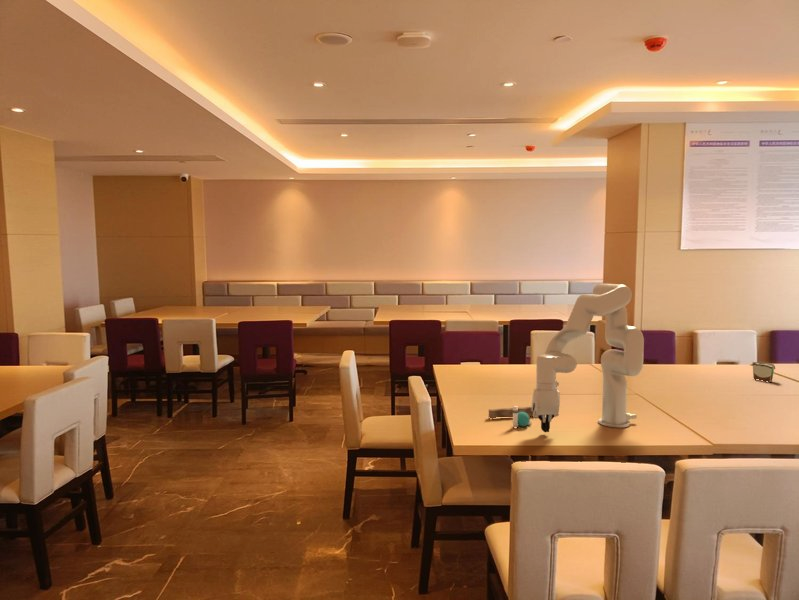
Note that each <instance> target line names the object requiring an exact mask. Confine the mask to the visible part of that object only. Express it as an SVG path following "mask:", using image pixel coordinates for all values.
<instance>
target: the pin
mask: <svg viewBox="0 0 799 600" xmlns="http://www.w3.org/2000/svg"><path fill="white" fill-rule="evenodd" d="M518 407H519V406H518V405H513V406H512V408H513V418H512V428H513V427H518V428H519V425H518Z"/></svg>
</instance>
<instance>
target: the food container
mask: <svg viewBox="0 0 799 600" xmlns="http://www.w3.org/2000/svg"><path fill="white" fill-rule="evenodd" d="M751 366H752V372H753V373H752V375H753V376H752V377H753V378H754V379H759V380H763V381H768V382H772V383H773V378H774V377H773V376H774V370H776V365H775V364H773V363H770V362H763V361H752V363H751ZM754 379H753V380H754Z"/></svg>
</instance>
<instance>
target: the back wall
mask: <svg viewBox="0 0 799 600" xmlns="http://www.w3.org/2000/svg"><path fill="white" fill-rule="evenodd" d="M519 412H525V413H527V414H528V416H533V412H532V406H523V407H522V406H521V407H520V406H518V413H519ZM489 417H490V418H496V417H513V407H507V408H505V407H504V408H492V409H491V408H490V409H488V418H489Z"/></svg>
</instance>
